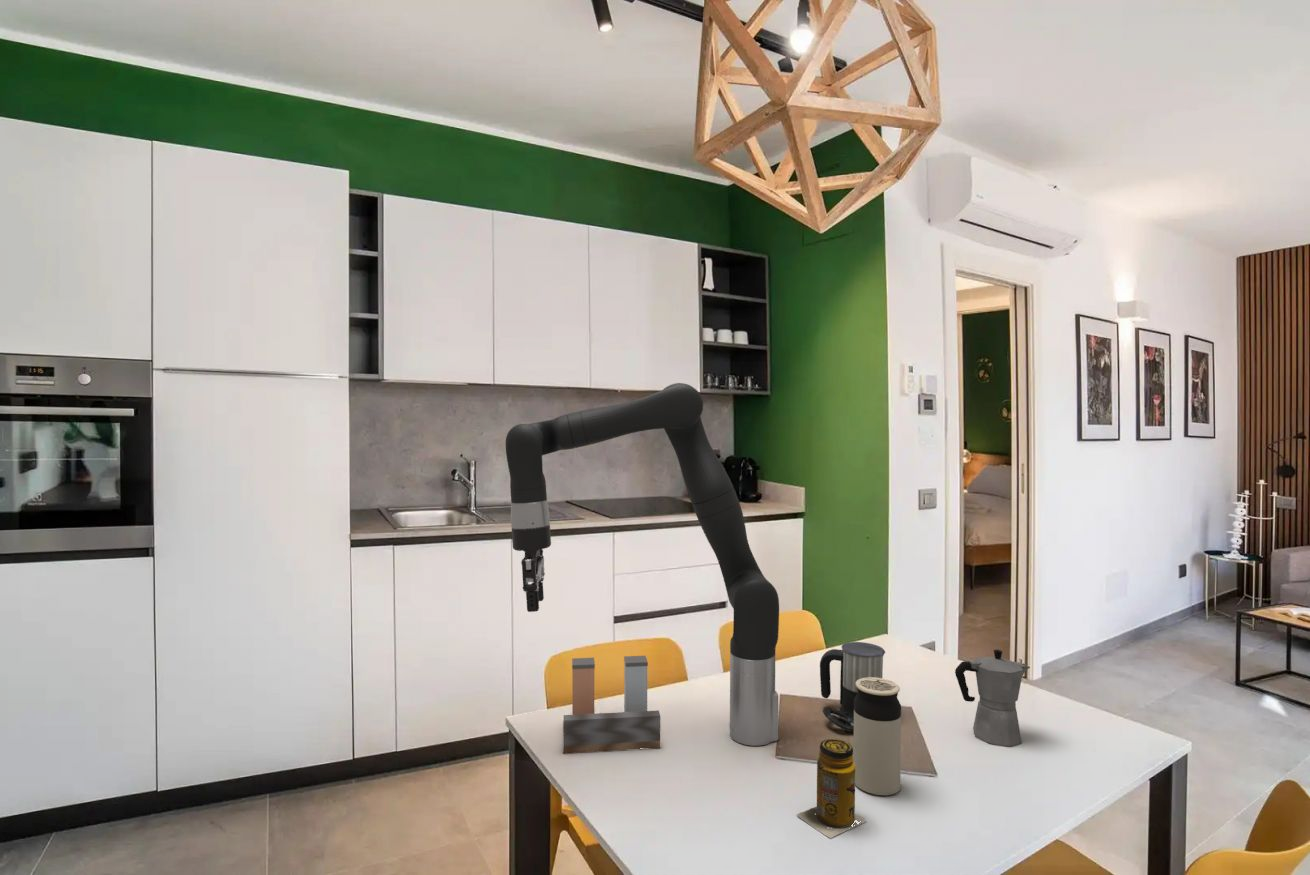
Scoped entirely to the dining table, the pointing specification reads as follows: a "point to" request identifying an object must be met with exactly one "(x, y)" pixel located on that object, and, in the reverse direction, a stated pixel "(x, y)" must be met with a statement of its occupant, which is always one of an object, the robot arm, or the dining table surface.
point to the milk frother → (849, 677)
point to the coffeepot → (995, 697)
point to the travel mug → (877, 736)
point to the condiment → (834, 790)
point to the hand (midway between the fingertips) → (535, 605)
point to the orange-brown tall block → (583, 685)
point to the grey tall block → (635, 683)
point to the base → (611, 731)
